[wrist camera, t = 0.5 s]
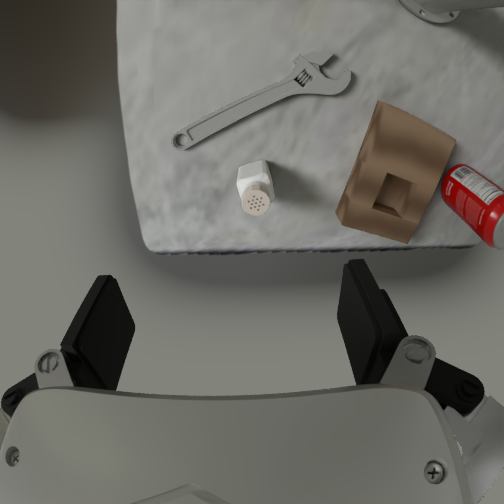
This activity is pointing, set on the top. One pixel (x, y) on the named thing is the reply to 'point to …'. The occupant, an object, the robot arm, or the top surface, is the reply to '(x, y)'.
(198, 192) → the top surface
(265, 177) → the pepper shaker
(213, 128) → the adjustable wrench
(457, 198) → the soda can
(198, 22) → the top surface
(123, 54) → the top surface
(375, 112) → the socket block
